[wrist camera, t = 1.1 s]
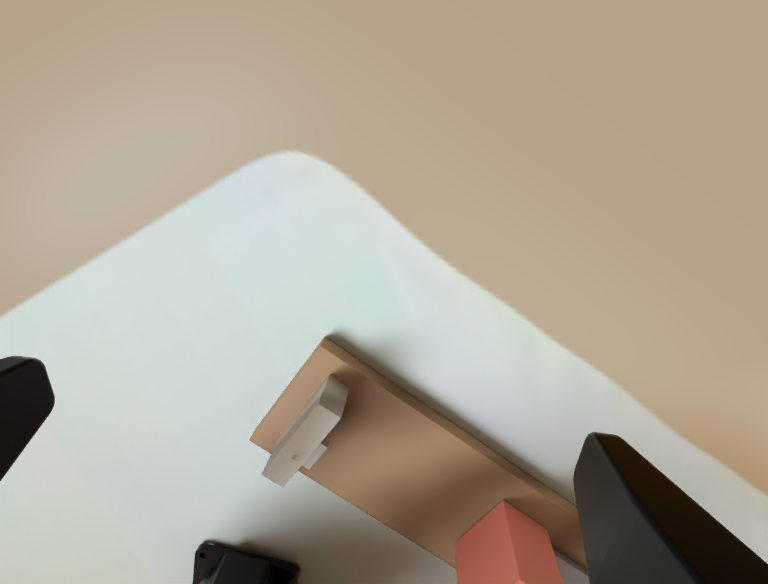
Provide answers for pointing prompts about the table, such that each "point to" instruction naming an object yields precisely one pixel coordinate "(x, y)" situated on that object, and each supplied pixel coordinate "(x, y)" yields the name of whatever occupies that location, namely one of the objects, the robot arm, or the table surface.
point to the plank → (399, 458)
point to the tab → (512, 552)
